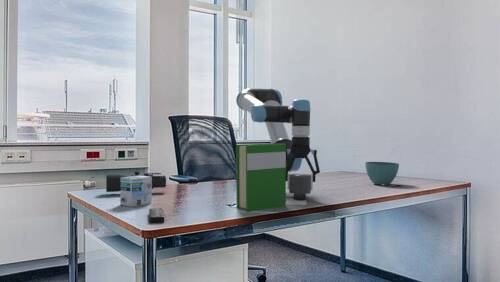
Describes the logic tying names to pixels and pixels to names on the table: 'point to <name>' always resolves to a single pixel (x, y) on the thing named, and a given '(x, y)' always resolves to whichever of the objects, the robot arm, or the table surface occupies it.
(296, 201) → the mat
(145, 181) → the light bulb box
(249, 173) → the hardback book
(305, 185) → the grey cylinder
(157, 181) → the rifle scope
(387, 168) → the teal bowl
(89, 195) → the table surface
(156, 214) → the multiport hub
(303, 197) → the lens barrel
